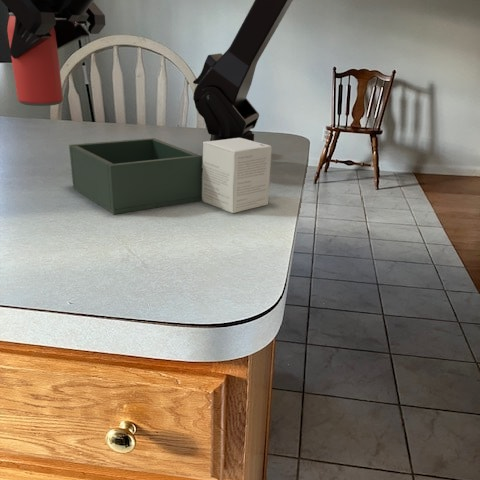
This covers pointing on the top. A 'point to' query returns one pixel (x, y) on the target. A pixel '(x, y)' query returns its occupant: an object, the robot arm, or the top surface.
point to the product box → (236, 174)
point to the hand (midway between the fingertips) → (26, 55)
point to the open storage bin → (136, 174)
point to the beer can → (37, 72)
